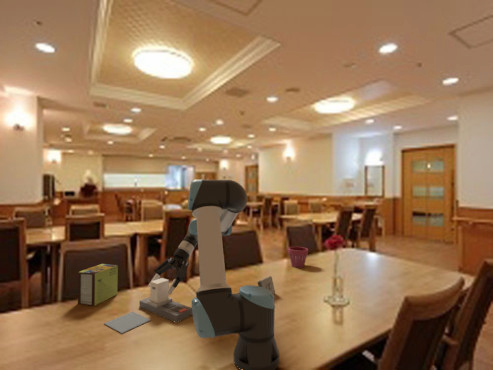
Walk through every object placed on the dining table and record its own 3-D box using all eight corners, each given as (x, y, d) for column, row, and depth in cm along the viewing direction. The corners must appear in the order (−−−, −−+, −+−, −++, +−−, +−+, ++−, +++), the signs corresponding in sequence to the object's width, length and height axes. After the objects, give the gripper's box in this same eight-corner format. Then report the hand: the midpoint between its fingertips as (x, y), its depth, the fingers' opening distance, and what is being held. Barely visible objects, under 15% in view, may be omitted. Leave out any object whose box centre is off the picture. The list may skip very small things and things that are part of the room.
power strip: (192, 314, 121) (192, 305, 121) (176, 322, 114) (176, 312, 114) (155, 300, 136) (155, 292, 136) (139, 307, 129) (139, 298, 129)
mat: (150, 320, 116) (150, 319, 116) (121, 333, 105) (121, 332, 105) (132, 312, 123) (132, 311, 123) (104, 324, 112) (104, 323, 112)
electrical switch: (265, 299, 139) (264, 280, 140) (257, 297, 142) (256, 279, 143) (275, 293, 146) (274, 276, 147) (267, 292, 150) (266, 275, 150)
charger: (168, 301, 128) (168, 279, 129) (157, 306, 123) (157, 283, 123) (161, 298, 131) (162, 277, 131) (150, 303, 126) (150, 281, 126)
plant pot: (310, 265, 201) (310, 247, 201) (303, 269, 189) (304, 251, 189) (292, 262, 209) (292, 245, 209) (285, 266, 197) (285, 248, 197)
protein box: (117, 294, 144) (118, 264, 144) (94, 306, 129) (94, 273, 130) (101, 292, 147) (102, 263, 147) (77, 303, 132) (77, 271, 132)
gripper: (205, 259, 135) (181, 300, 123) (171, 252, 149) (147, 288, 137) (197, 251, 131) (172, 292, 118) (164, 244, 145) (138, 280, 133)
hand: (159, 290), depth 128 cm, fingers open, 13 cm apart
